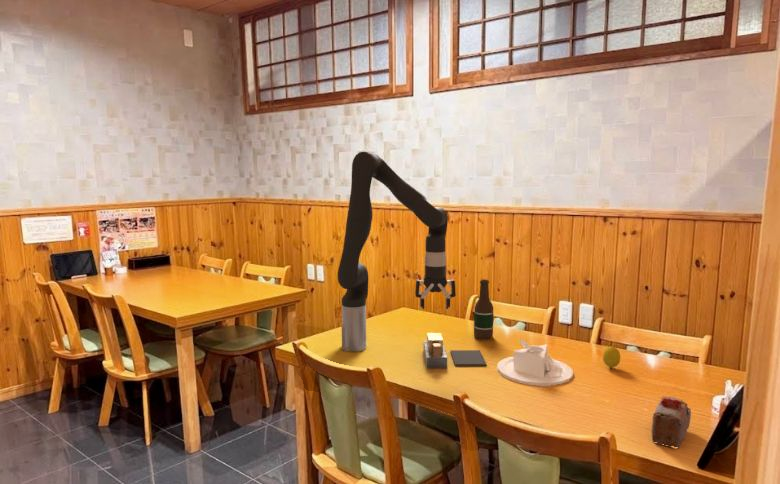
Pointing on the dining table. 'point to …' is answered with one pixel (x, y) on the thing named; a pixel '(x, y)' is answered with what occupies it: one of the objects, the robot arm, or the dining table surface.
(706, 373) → the dining table surface
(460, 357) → the rubber mat
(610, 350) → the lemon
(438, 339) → the cream block
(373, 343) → the dining table surface
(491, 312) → the beer bottle
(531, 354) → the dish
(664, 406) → the food item
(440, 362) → the hand plane
